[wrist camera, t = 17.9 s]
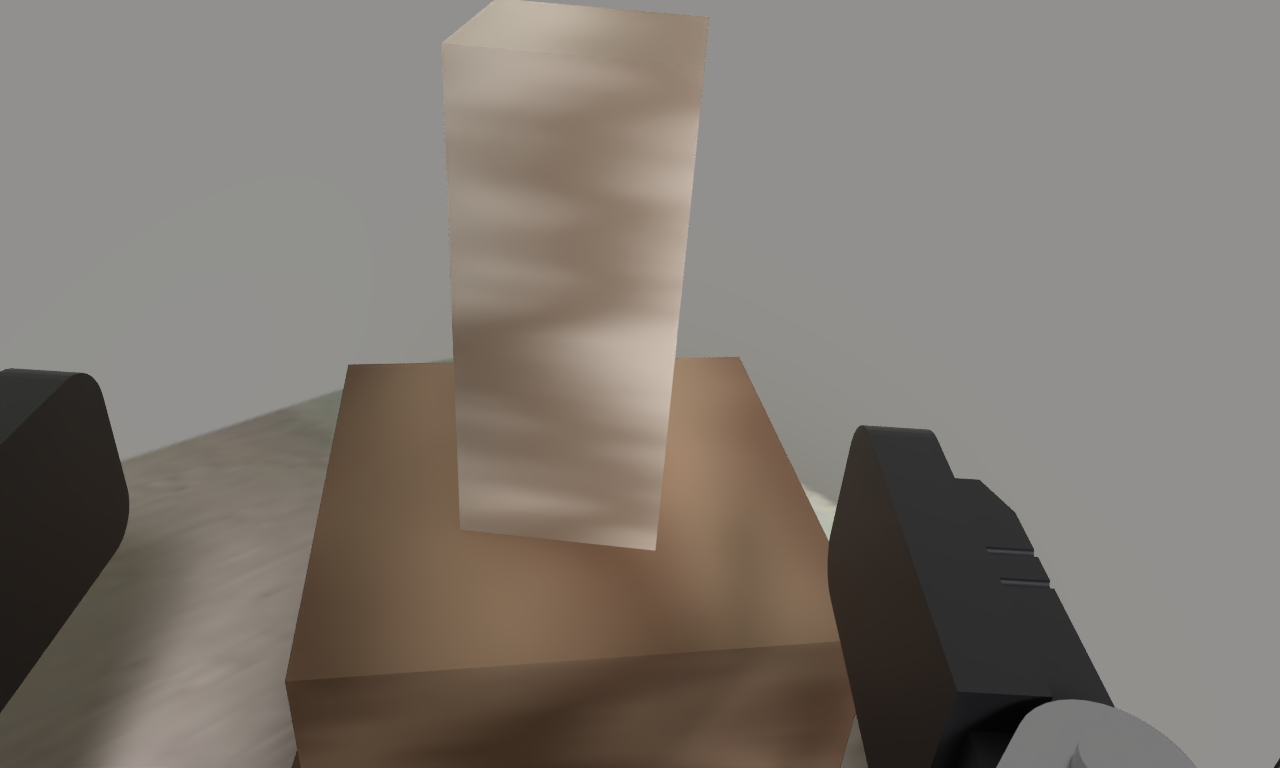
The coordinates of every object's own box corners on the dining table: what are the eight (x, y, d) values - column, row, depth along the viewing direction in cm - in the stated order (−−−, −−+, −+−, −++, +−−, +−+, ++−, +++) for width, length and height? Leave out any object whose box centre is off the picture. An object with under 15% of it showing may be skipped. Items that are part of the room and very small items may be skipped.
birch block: (460, 529, 22) (441, 43, 17) (499, 422, 26) (496, -2, 21) (655, 550, 22) (704, 67, 16) (665, 439, 26) (709, 17, 20)
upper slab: (311, 825, 21) (284, 681, 18) (360, 485, 31) (348, 364, 28) (838, 773, 23) (875, 638, 20) (723, 470, 33) (739, 356, 30)
